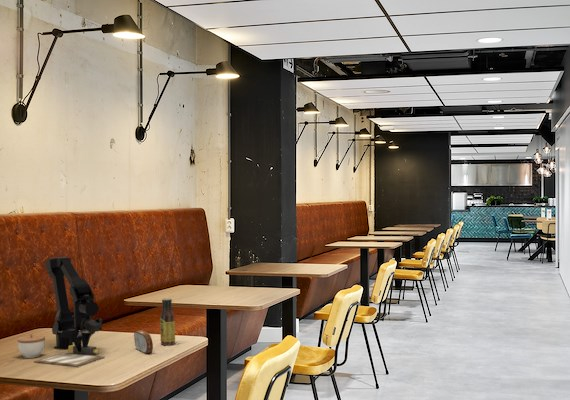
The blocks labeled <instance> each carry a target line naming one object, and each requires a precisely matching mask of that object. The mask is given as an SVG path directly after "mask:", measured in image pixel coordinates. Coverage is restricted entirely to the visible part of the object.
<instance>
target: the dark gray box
mask: <svg viewBox="0 0 570 400" xmlns="http://www.w3.org/2000/svg"><path fill="white" fill-rule="evenodd" d="M67 349H68V353H74V354H84V355H94V354H95V355H97V354H99V353H100V350H99V349H97V346H90V345H88V346H83V345H82V344H81V352H78V350H77V348H76V346H75V344H73V345H70V346H68V348H67Z"/></svg>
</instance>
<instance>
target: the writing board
mask: <svg viewBox="0 0 570 400" xmlns="http://www.w3.org/2000/svg"><path fill="white" fill-rule="evenodd" d="M102 359H105V356H104V355H103V356H102V355H96V354H95V355H84V354H74V353H69V352H64V351H63V352H60V353H56V354H53V355H49V356H47V357H44V358H39V359H37V360H34V361H33V363H36V364H43V365H54V366H62V367H70V366H71V368H78V367H79V366H80V367H82V365H83V366H85V365H88V364H91V363H93V362H97V361H100V360H102ZM96 360H97V361H96Z"/></svg>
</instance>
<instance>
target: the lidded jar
mask: <svg viewBox="0 0 570 400" xmlns="http://www.w3.org/2000/svg"><path fill="white" fill-rule="evenodd" d="M45 345H46V337H45V335H42V334H33V333H29V335H24V336H20V337H18V338H17V347H18V351H19V353H20V355H22V356H23V358H24V359H33V358H38V357H40V356H41V354H42V353H44V349H45V347H46V346H45Z"/></svg>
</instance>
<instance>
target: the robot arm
mask: <svg viewBox="0 0 570 400" xmlns="http://www.w3.org/2000/svg"><path fill="white" fill-rule="evenodd" d="M44 266H45V268H46V271H47V274H48V275H49V277H50V278H51V279H52V283H53V290H54V296H55V303H56V309H57V312H56V315H55V317H54V320H55V321H54V324H53V325H52V328H51V332H52V334H53V335H55V338H56V340H55V341H56V342H55V343H56V344H55V345H56V346H53V349H61V350H66V349H69V348H68V346H70V345H75V346H76V348H77V350H78V352H81V345H82V346H89V343H90V342H89V341H90V339H91V337H92V336H93V335H95V333H96V332H100V331H101V330H102V327H103V319H102V318H96V319H92V317H94V316H95V315H97V314H98V312H99V309H100V308H99V305H98V303H96V302H95V297H94V296H95V294H94V292H93V290H92V287H91V285H90V284H89V283H88V281H87V280H86V279H84V278H81V276H80V275H79V273H78V271H77V270H76V268H75V266H74V265H73V263H72V259H71V257H69V256H66V257H65V256H60V257H48V258H47V259H46V261H45V264H44ZM65 278H66V280H67V282H68V283H69V292H70V296H71V297H72V299H71V301H72V303H73V311H72V310H71V309H70V306H69V300H68V295H67V294H68V293H67V287H66V282H65V281H66V280H65ZM102 331H103V330H102Z"/></svg>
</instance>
